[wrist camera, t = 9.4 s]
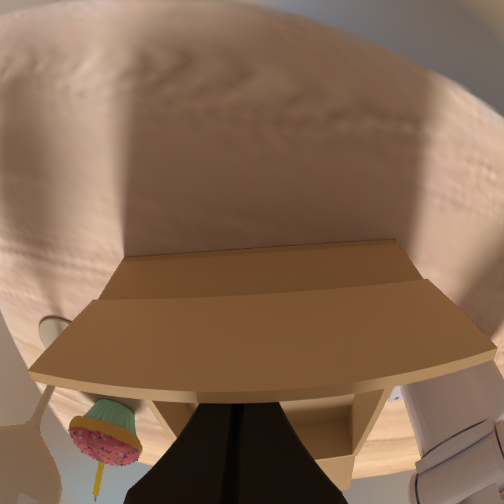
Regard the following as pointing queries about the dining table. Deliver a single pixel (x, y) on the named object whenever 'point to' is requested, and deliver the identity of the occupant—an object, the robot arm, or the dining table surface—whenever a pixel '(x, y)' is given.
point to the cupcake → (106, 436)
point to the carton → (267, 282)
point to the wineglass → (31, 446)
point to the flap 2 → (338, 471)
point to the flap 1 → (264, 345)
